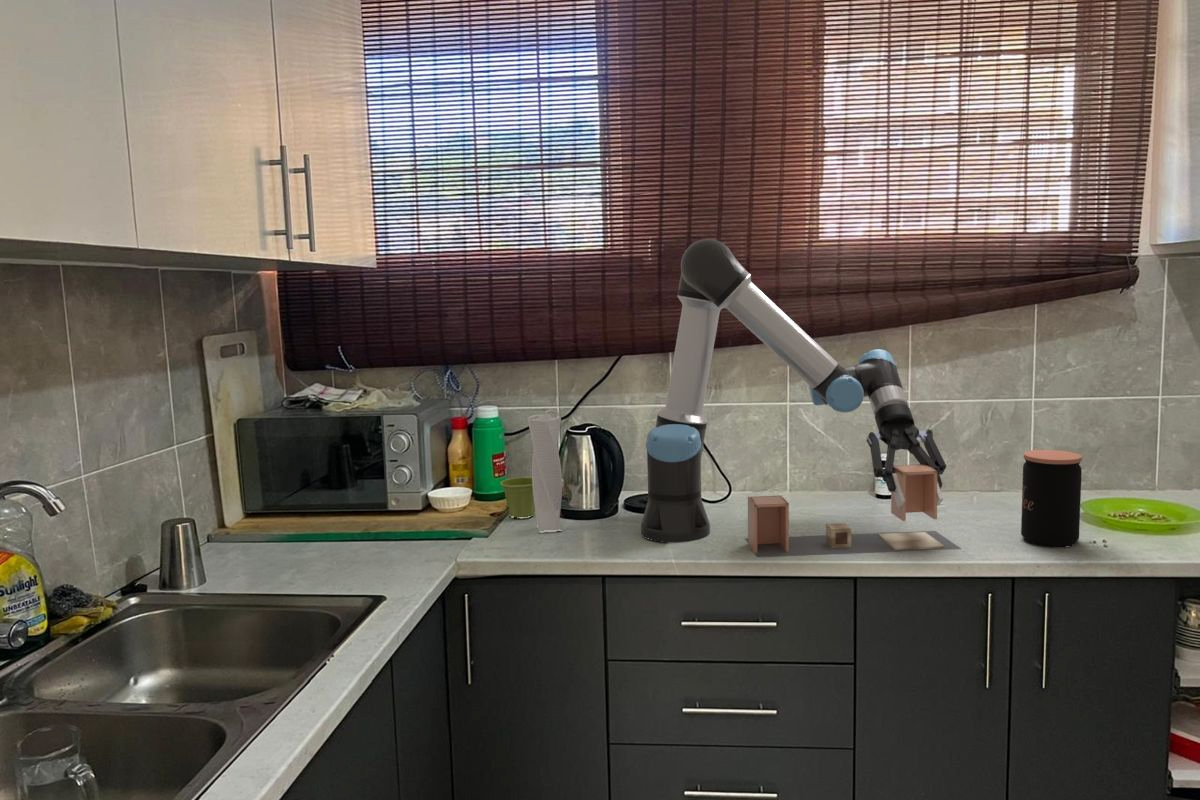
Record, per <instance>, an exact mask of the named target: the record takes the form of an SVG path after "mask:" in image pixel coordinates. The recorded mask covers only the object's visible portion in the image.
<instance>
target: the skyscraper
mask: <svg viewBox="0 0 1200 800" xmlns="http://www.w3.org/2000/svg"><path fill="white" fill-rule="evenodd" d="M551 412H553V413H555V414H556V415H557V416H558V417H552V414H548V413H551ZM532 418H533V419H532ZM527 422H528V428H529V433H530V434H529V435H530V439H531V442H532V447H533V449H532V451H533V452H532V459H531V460H532V461H531V478H532V487H533V497H534V505H535V517H536V525H538V529H537V531H538V530H539V531H544V530H559V529H560V530H562V527H561V524H560V518H561V517H560V516H561V510H562V509H561V508H562V495H563V494H562V492H563V474H562V464H561V458H560V455H559V451H558V442H559V438H560V437H559V436H560V431H561V429H560V428H561V422H562V417H561V416H560V413H559V412H558V411H557V410H556V409H547V410H546V411H545V412H544V414H540V413H539V414H538V413H537V414H533V415H530V416H529V417H528V418H527ZM539 531H538V532H539ZM562 531H563V530H562Z"/></svg>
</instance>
